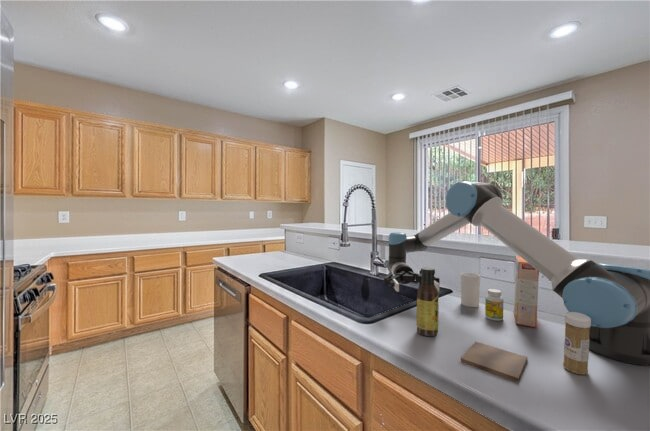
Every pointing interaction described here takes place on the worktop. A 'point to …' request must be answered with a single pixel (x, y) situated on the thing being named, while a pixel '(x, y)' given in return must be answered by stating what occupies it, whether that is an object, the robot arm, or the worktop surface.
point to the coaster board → (495, 361)
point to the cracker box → (525, 293)
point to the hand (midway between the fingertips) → (418, 287)
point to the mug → (470, 289)
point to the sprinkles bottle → (576, 342)
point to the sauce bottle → (427, 304)
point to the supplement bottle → (494, 305)
